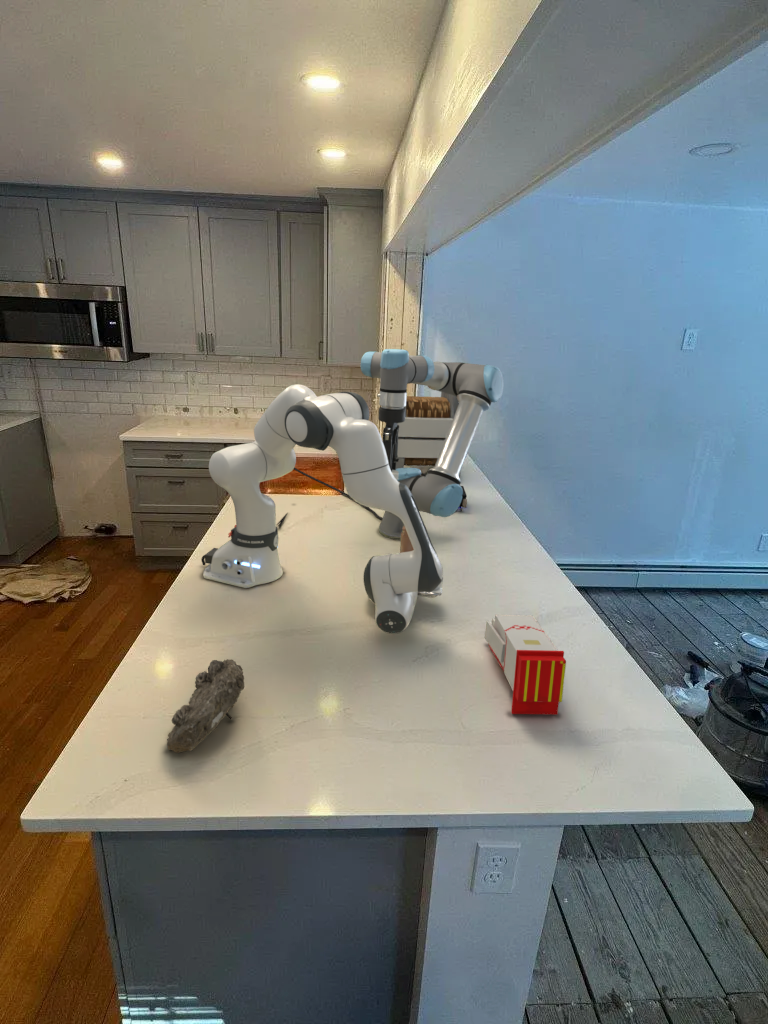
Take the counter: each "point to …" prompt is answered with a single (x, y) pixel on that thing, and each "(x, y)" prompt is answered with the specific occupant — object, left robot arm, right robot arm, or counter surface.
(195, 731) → the fossil
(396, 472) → the lid
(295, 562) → the counter surface
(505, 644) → the toy
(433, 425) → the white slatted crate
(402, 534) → the tan brown cylinder
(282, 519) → the feather
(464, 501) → the figurine character
